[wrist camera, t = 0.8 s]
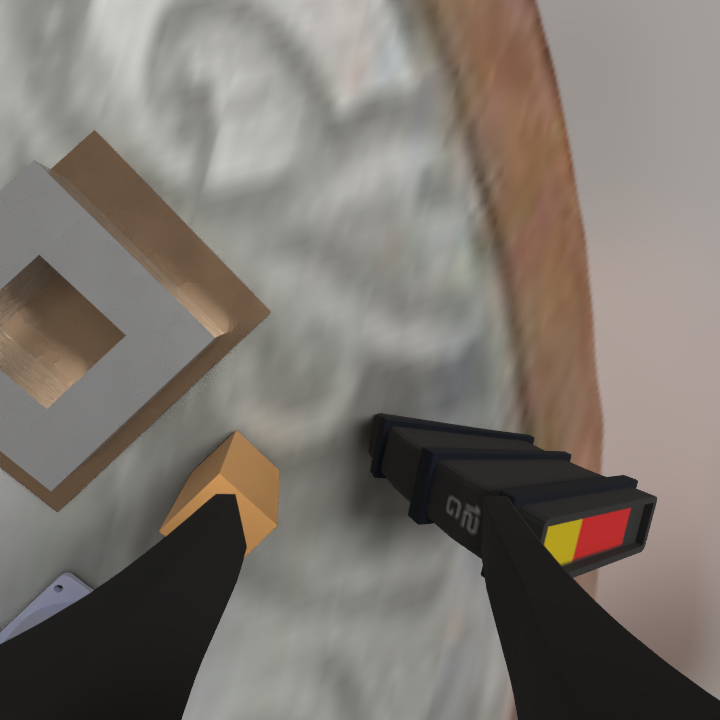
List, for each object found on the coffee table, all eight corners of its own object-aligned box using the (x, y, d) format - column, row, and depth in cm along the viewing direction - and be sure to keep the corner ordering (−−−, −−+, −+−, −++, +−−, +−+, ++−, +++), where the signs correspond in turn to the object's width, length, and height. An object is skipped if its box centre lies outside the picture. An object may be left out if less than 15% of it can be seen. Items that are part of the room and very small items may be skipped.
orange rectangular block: (236, 508, 30) (219, 581, 22) (193, 469, 29) (158, 531, 21) (279, 467, 30) (277, 525, 22) (237, 428, 29) (219, 473, 21)
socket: (65, 505, 28) (24, 542, 24) (-132, 347, 25) (-221, 356, 21) (271, 312, 29) (268, 313, 24) (101, 136, 26) (63, 102, 21)
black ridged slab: (333, 405, 28) (542, 511, 16) (467, 411, 36) (674, 486, 24) (323, 460, 29) (520, 604, 17) (457, 455, 37) (657, 550, 24)
